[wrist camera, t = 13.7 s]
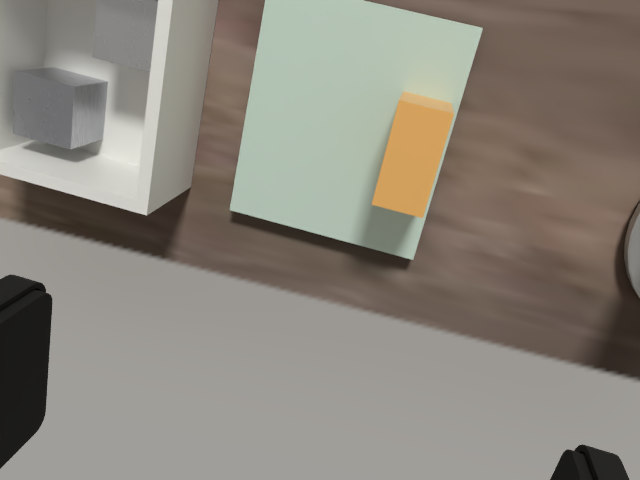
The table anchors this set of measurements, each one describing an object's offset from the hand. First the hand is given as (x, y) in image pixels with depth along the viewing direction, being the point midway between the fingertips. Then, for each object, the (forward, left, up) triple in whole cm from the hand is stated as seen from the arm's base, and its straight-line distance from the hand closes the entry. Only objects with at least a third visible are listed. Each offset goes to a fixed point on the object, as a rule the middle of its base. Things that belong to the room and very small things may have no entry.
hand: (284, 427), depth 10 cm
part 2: (+16, -3, -30) cm, 34 cm away
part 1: (+21, +3, -30) cm, 37 cm away
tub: (+19, 0, -30) cm, 36 cm away
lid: (+3, 0, -30) cm, 30 cm away
